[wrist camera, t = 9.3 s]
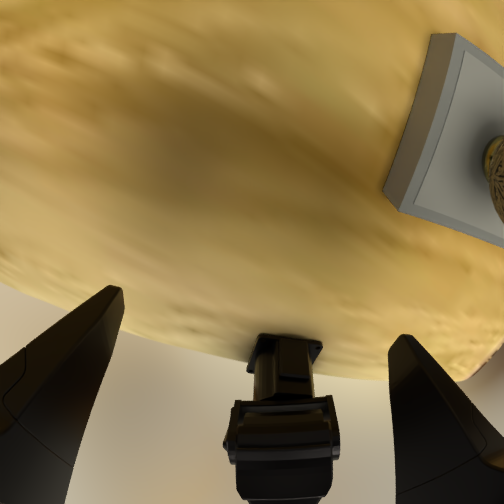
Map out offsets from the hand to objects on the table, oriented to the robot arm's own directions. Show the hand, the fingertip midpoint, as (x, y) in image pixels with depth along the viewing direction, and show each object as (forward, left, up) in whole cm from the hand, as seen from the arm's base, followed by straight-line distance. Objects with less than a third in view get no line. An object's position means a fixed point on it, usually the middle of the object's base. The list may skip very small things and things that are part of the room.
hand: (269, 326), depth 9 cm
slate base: (+7, -14, -12) cm, 20 cm away
